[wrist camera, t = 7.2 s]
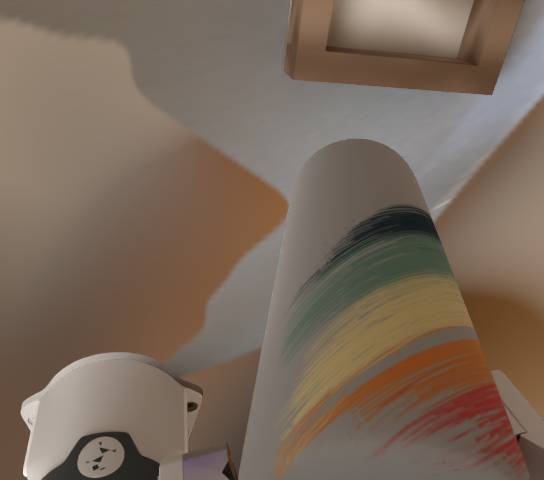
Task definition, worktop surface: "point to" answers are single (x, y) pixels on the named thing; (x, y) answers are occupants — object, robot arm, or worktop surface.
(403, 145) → the worktop surface
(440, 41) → the brown square shallow frame
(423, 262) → the lotion bottle
